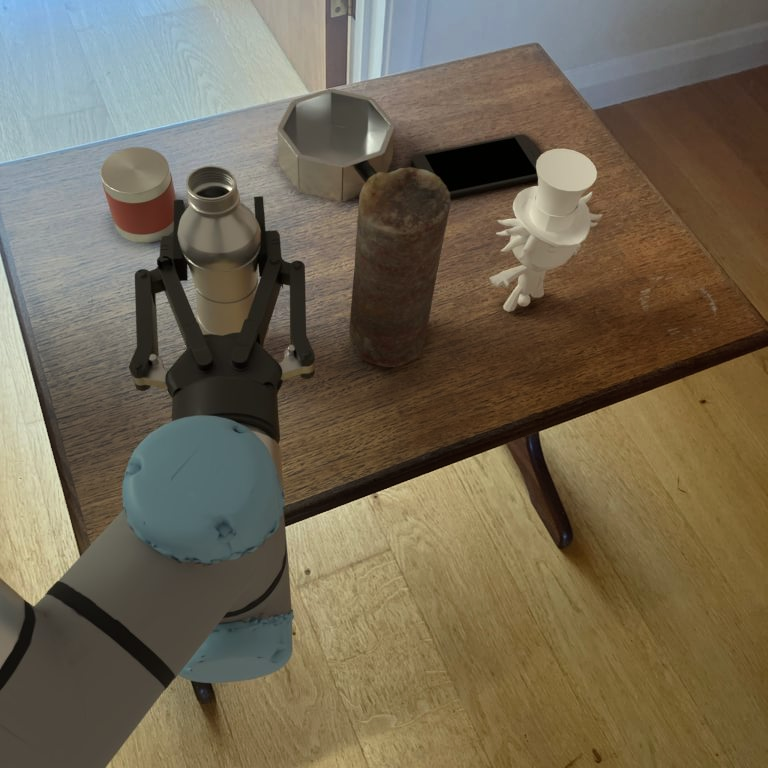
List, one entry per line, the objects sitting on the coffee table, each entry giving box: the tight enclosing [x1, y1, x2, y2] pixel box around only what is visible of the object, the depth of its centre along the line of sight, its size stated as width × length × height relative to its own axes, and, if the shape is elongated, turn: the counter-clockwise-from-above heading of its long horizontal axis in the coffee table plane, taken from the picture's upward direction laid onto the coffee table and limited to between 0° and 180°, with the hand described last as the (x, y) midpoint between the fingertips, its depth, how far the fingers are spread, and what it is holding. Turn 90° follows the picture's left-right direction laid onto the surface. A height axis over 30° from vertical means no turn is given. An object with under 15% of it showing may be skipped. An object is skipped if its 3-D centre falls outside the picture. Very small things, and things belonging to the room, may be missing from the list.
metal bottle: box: [177, 165, 270, 347], centre depth 69 cm, size 6×7×20 cm
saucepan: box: [276, 88, 396, 203], centre depth 90 cm, size 18×12×5 cm, turn 30°
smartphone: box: [410, 134, 542, 199], centre depth 94 cm, size 7×15×1 cm, turn 109°
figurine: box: [489, 148, 604, 313], centre depth 76 cm, size 10×8×18 cm
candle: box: [348, 166, 452, 368], centre depth 71 cm, size 8×7×20 cm
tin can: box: [100, 146, 177, 244], centre depth 84 cm, size 7×7×7 cm
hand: (220, 210), depth 70 cm, fingers closed on metal bottle, 6 cm apart
